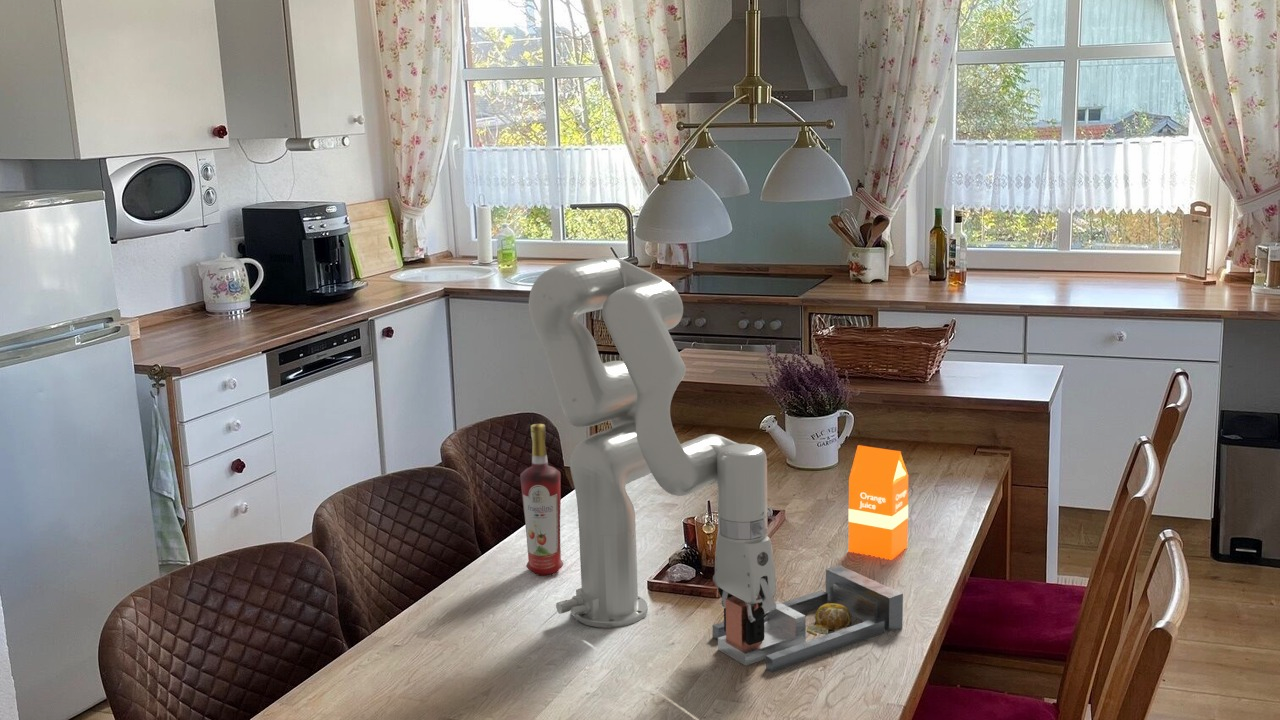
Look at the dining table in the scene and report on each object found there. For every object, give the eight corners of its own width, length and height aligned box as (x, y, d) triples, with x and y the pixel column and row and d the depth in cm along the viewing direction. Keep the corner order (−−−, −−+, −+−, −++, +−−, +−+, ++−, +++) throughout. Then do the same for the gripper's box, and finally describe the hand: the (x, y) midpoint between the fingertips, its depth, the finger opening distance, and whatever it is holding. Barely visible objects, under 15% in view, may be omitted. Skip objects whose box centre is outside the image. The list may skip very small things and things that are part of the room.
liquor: (523, 579, 225) (515, 431, 219) (527, 564, 233) (520, 420, 227) (563, 578, 225) (556, 430, 219) (566, 563, 232) (560, 419, 226)
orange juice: (864, 538, 240) (865, 440, 236) (907, 547, 235) (909, 446, 231) (847, 551, 234) (848, 450, 230) (891, 560, 229) (893, 457, 225)
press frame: (772, 674, 187) (772, 637, 185) (712, 638, 199) (712, 604, 198) (902, 628, 201) (902, 593, 200) (838, 597, 213) (839, 565, 212)
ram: (745, 665, 189) (744, 611, 187) (718, 649, 195) (717, 596, 193) (805, 645, 195) (805, 591, 193) (777, 629, 201) (777, 577, 199)
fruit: (807, 639, 199) (807, 618, 198) (807, 617, 207) (807, 597, 206) (859, 641, 197) (859, 620, 197) (858, 619, 205) (858, 598, 205)
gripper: (797, 535, 184) (798, 649, 187) (728, 505, 197) (730, 611, 201) (758, 547, 180) (759, 662, 184) (690, 515, 193) (692, 623, 197)
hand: (744, 635), depth 192 cm, fingers open, 4 cm apart
